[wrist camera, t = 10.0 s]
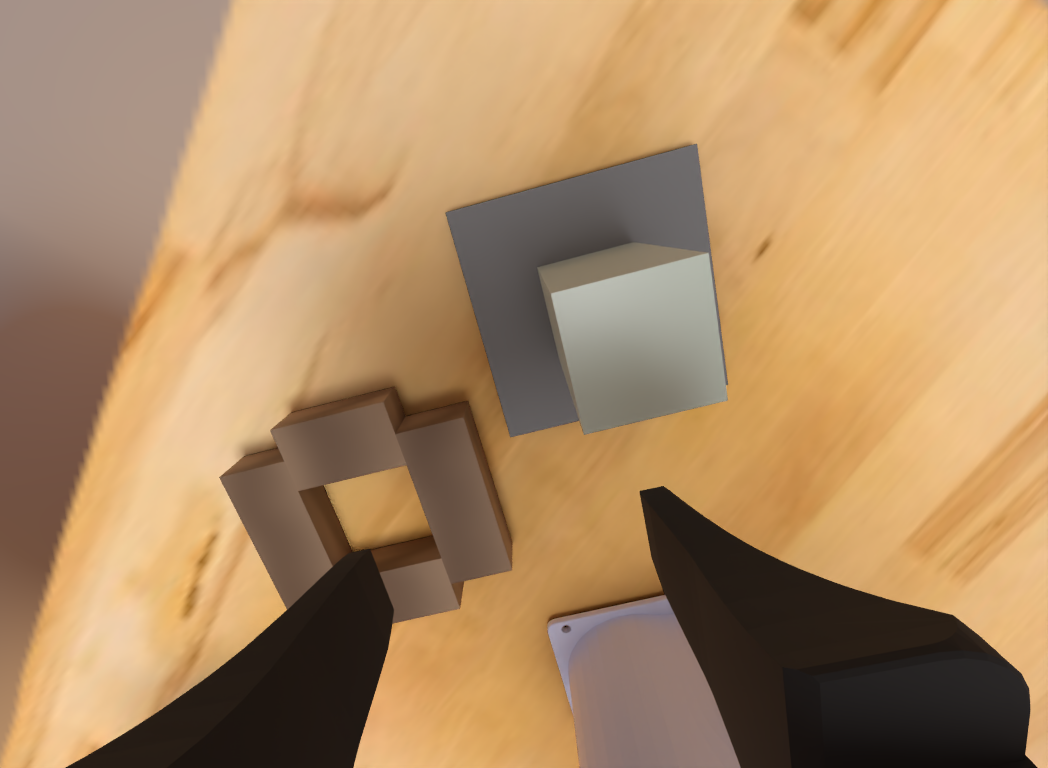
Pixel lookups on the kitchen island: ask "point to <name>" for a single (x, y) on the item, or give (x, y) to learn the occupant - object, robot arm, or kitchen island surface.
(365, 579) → the robot arm
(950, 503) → the kitchen island surface
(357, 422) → the brown flat piece
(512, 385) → the mat
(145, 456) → the kitchen island surface
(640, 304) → the plug
